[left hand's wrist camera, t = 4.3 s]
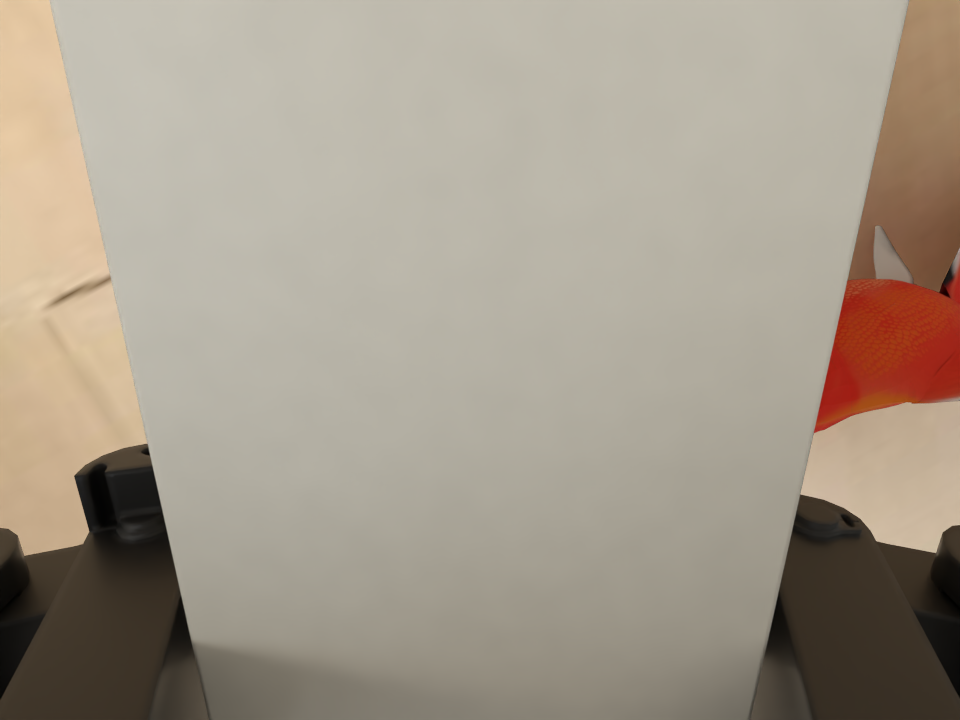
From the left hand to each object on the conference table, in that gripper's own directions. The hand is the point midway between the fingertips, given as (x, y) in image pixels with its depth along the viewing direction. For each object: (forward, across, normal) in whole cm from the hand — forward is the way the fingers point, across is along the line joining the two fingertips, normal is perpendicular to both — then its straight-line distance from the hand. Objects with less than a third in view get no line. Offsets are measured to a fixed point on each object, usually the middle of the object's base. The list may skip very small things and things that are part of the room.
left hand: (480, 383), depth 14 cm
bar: (+1, 0, -8) cm, 9 cm away
